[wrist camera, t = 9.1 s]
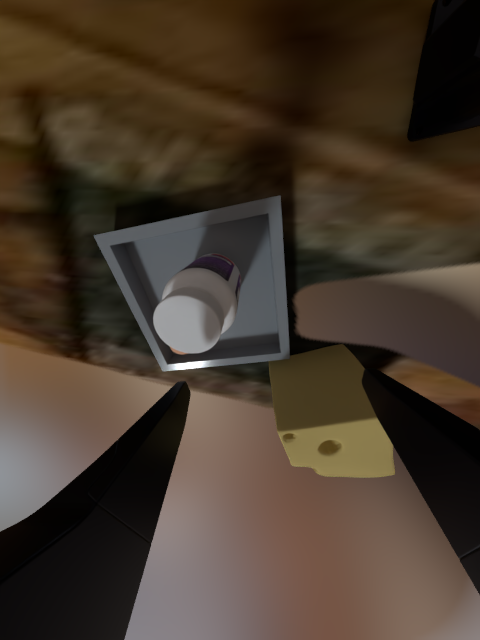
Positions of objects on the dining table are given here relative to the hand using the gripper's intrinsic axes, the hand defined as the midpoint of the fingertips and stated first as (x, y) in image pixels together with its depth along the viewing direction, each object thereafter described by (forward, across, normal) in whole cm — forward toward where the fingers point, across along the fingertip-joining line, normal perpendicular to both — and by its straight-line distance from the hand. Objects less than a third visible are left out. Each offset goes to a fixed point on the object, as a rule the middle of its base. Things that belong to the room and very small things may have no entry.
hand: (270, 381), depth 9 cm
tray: (+12, +6, 0) cm, 14 cm away
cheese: (+13, -6, +13) cm, 19 cm away
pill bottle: (+12, +4, -2) cm, 13 cm away
